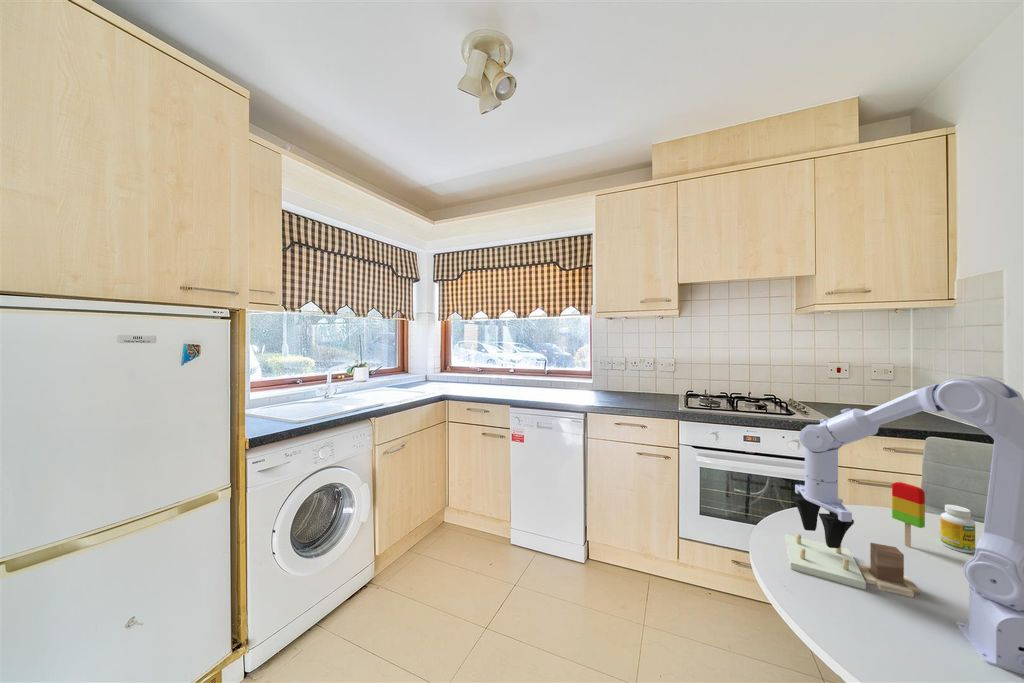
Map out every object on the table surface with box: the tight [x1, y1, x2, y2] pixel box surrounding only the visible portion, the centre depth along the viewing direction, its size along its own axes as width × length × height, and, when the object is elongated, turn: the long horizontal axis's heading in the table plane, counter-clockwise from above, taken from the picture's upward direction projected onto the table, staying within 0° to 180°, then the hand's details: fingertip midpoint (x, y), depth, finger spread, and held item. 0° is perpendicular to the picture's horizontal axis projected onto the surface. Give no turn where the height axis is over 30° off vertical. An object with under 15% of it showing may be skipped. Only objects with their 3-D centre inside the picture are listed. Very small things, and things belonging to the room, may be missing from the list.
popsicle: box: [891, 481, 926, 548], centre depth 89 cm, size 6×2×15 cm, turn 16°
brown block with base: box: [857, 542, 921, 598], centre depth 76 cm, size 8×8×7 cm
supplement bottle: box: [940, 504, 976, 554], centre depth 88 cm, size 5×5×10 cm
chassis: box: [784, 533, 867, 591], centre depth 82 cm, size 14×12×4 cm
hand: (820, 538), depth 82 cm, fingers open, 7 cm apart
